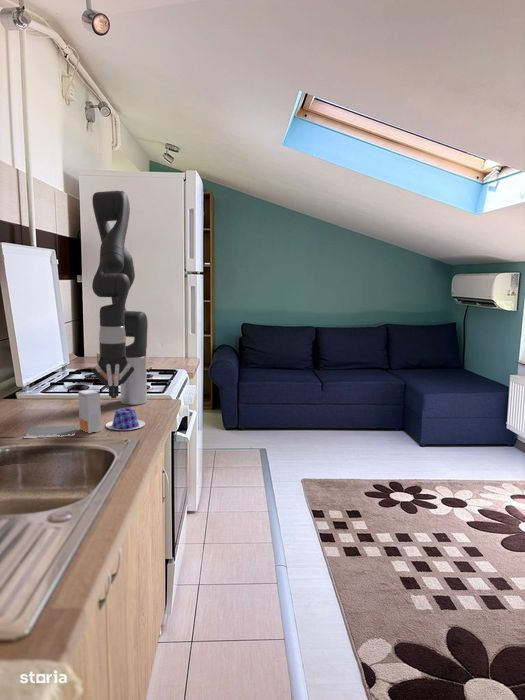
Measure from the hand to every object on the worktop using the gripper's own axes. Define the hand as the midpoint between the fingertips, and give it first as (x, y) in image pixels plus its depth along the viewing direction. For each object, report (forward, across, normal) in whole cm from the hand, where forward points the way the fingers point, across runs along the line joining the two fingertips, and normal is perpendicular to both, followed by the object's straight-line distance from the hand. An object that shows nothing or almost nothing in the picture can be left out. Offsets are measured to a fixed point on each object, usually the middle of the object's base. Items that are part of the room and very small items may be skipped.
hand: (113, 397), depth 165 cm
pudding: (+11, -3, -4) cm, 12 cm away
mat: (+10, +18, 0) cm, 21 cm away
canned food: (+10, +2, -74) cm, 75 cm away
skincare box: (+10, +7, 0) cm, 12 cm away
